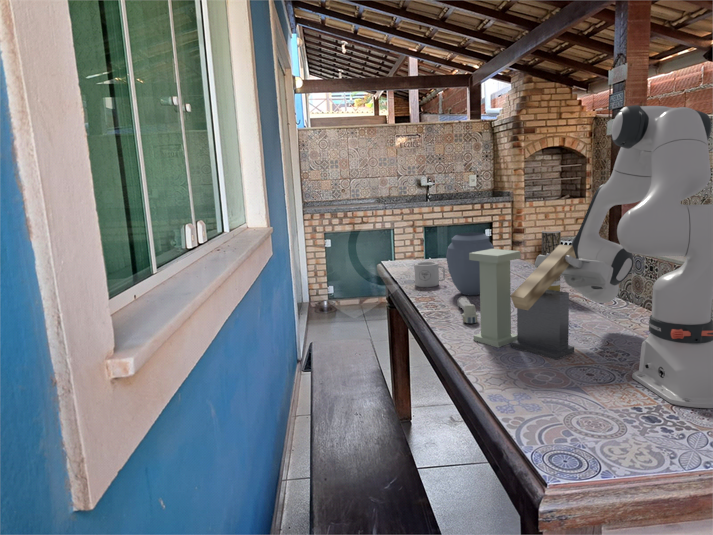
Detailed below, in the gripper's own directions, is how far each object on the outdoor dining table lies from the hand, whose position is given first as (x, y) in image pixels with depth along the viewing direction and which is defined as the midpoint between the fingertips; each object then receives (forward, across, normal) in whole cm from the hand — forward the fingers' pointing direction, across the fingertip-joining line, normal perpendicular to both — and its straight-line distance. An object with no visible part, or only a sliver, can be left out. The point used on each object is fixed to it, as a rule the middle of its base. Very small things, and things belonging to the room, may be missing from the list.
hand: (557, 256), depth 139 cm
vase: (-40, -60, +6) cm, 72 cm away
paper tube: (-56, -35, -3) cm, 66 cm away
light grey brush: (-18, -39, +19) cm, 47 cm away
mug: (-42, -85, +6) cm, 95 cm away
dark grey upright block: (-6, 0, +25) cm, 26 cm away
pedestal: (-5, -14, +26) cm, 30 cm away
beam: (+1, 0, +8) cm, 8 cm away
